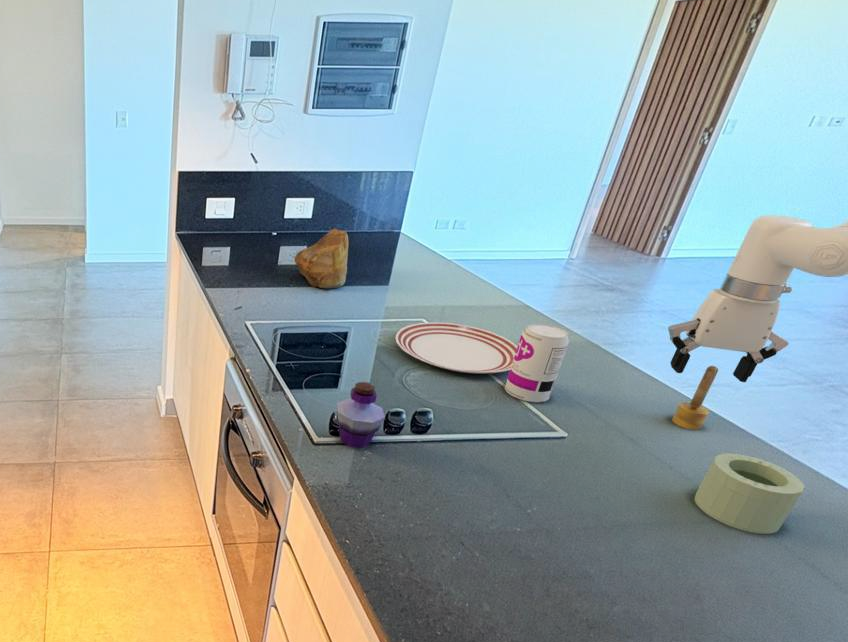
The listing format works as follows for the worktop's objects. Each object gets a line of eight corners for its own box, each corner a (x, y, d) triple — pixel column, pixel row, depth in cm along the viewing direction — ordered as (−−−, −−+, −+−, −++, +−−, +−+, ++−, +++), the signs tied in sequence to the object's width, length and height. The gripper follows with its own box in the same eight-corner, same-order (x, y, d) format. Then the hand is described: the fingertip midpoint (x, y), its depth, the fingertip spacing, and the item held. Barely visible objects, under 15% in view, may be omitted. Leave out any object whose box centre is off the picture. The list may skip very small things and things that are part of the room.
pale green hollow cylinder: (757, 501, 99) (780, 460, 96) (793, 542, 91) (820, 499, 87) (682, 488, 102) (702, 448, 99) (710, 527, 94) (733, 484, 90)
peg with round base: (694, 422, 121) (722, 363, 115) (704, 433, 117) (734, 373, 112) (667, 418, 122) (694, 359, 117) (676, 429, 119) (705, 369, 113)
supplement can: (510, 402, 128) (531, 336, 121) (498, 384, 135) (518, 321, 128) (553, 407, 126) (578, 340, 119) (540, 388, 133) (562, 324, 126)
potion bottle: (383, 438, 115) (396, 382, 110) (371, 460, 109) (384, 402, 104) (338, 424, 120) (348, 370, 114) (323, 445, 113) (333, 388, 108)
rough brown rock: (299, 268, 211) (301, 225, 205) (350, 270, 205) (353, 226, 198) (286, 291, 193) (287, 245, 186) (342, 294, 186) (345, 246, 179)
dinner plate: (489, 395, 130) (493, 381, 129) (371, 352, 149) (374, 340, 148) (539, 359, 146) (543, 347, 144) (427, 325, 165) (430, 313, 163)
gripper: (800, 287, 108) (753, 373, 116) (682, 275, 113) (644, 358, 121) (827, 302, 102) (775, 391, 110) (700, 289, 107) (659, 375, 115)
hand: (707, 374), depth 115 cm, fingers open, 9 cm apart
